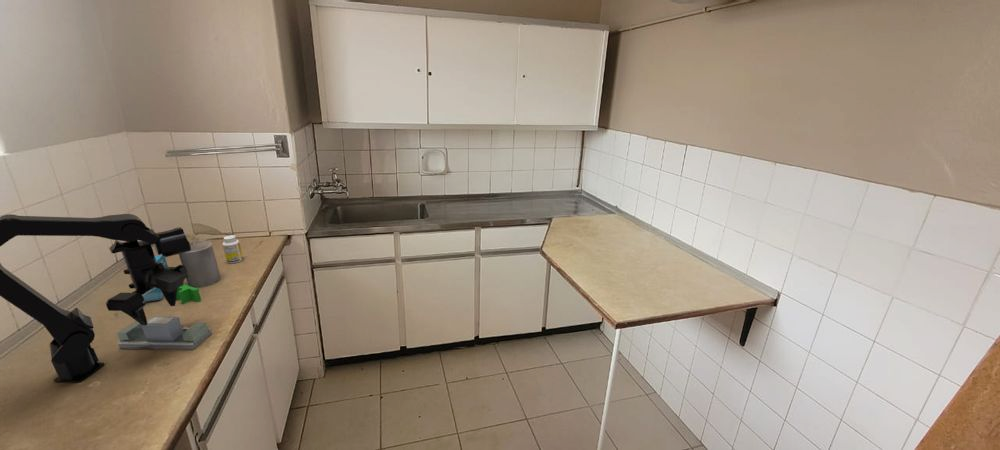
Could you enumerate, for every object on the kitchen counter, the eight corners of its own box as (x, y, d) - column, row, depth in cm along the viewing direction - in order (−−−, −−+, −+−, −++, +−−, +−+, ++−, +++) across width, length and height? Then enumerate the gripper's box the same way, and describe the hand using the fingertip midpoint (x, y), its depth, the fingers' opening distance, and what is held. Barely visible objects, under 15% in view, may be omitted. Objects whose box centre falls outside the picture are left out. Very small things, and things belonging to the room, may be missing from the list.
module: (172, 341, 107) (166, 324, 105) (146, 340, 107) (140, 324, 105) (183, 332, 111) (178, 316, 109) (158, 332, 111) (153, 315, 109)
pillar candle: (187, 279, 142) (175, 241, 137) (220, 272, 148) (210, 235, 143) (188, 291, 135) (175, 251, 130) (222, 282, 141) (211, 244, 135)
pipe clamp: (168, 299, 130) (164, 286, 129) (180, 294, 134) (176, 281, 132) (189, 306, 126) (185, 293, 125) (201, 300, 130) (198, 288, 128)
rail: (193, 349, 106) (189, 335, 105) (119, 348, 106) (114, 334, 105) (211, 334, 113) (207, 320, 111) (142, 332, 113) (137, 319, 111)
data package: (160, 301, 129) (149, 268, 125) (143, 304, 127) (131, 270, 123) (173, 284, 139) (164, 253, 135) (158, 286, 138) (147, 255, 134)
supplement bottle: (236, 257, 161) (231, 233, 157) (246, 259, 159) (241, 235, 155) (223, 262, 156) (217, 238, 152) (233, 264, 154) (227, 240, 151)
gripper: (141, 280, 92) (160, 336, 98) (199, 248, 110) (213, 297, 115) (94, 280, 93) (116, 336, 98) (159, 247, 110) (175, 296, 116)
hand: (159, 315), depth 107 cm, fingers open, 9 cm apart
